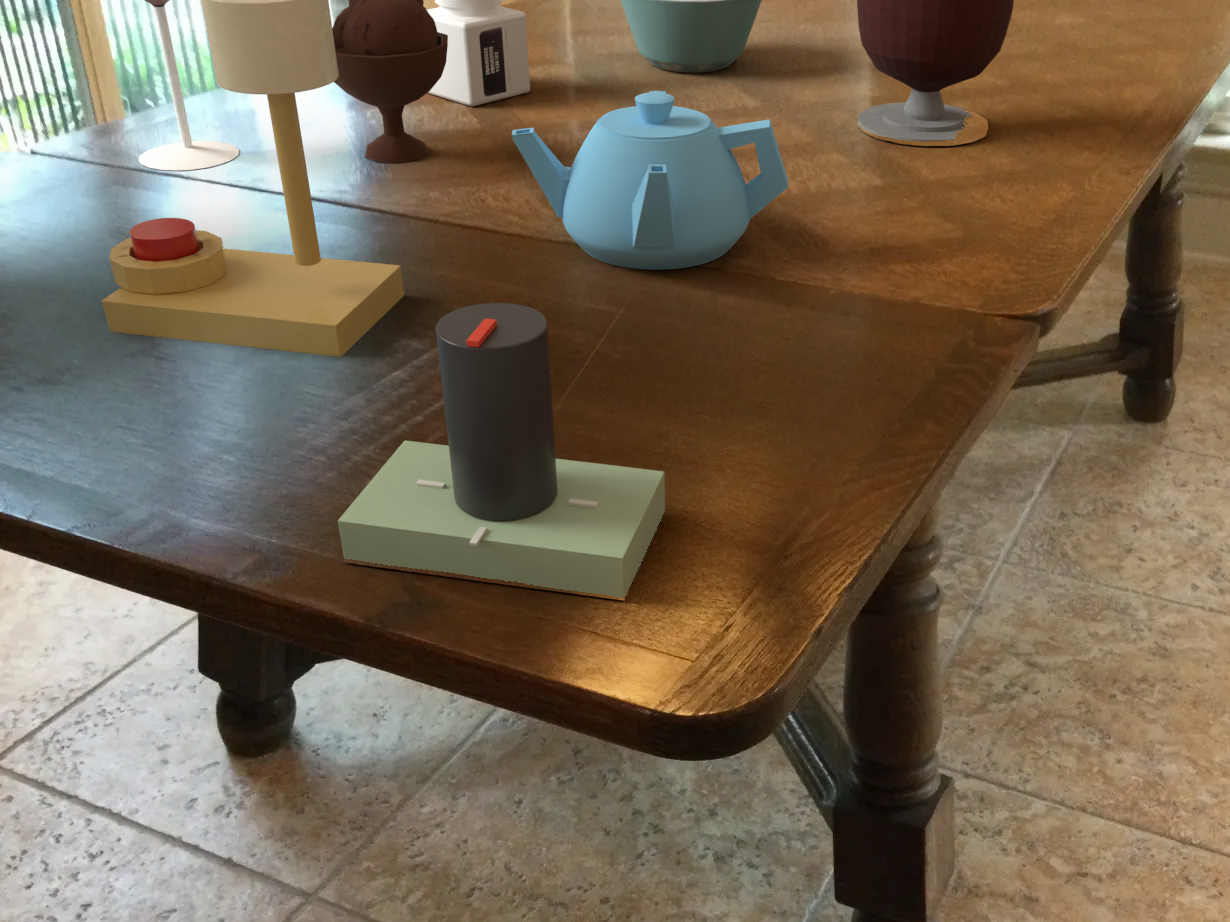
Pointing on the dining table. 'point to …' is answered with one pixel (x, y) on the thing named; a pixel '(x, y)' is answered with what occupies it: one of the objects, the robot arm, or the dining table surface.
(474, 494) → the dimmer knob
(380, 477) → the dimmer panel
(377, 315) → the lamp base
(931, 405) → the dining table surface
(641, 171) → the teapot
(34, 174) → the dining table surface
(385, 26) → the ice cream bowl
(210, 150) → the wineglass
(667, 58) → the bowl
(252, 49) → the lamp
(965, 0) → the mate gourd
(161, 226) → the lamp switch
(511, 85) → the container
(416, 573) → the dining table surface
